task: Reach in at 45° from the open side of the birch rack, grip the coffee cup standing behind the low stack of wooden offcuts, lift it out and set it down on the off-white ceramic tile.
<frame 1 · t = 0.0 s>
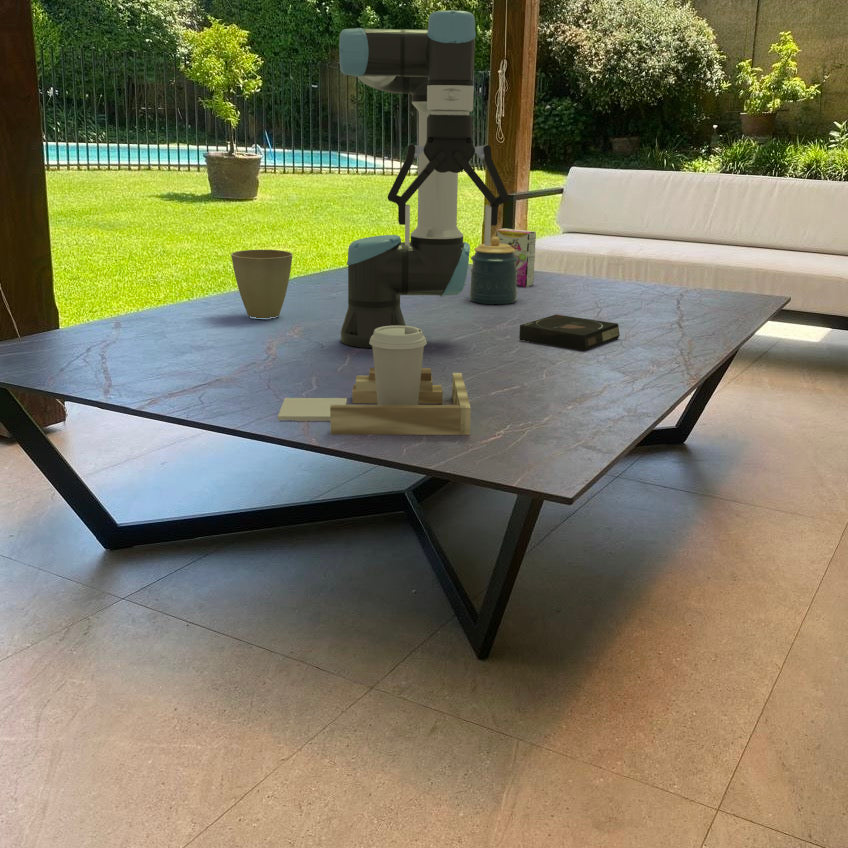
hand: (447, 245, 165), 28 cm above the table, tool pointing down, fingers open, 13 cm apart
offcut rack: (397, 415, 166), on the table
plant pot: (264, 318, 244), on the table
offcut stack: (397, 399, 175), on the table
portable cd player: (569, 342, 225), on the table
candy bar box: (513, 285, 296), on the table
ceramic tile: (313, 411, 168), on the table
canister: (493, 301, 270), on the table
coffee cup: (397, 418, 166), on the table
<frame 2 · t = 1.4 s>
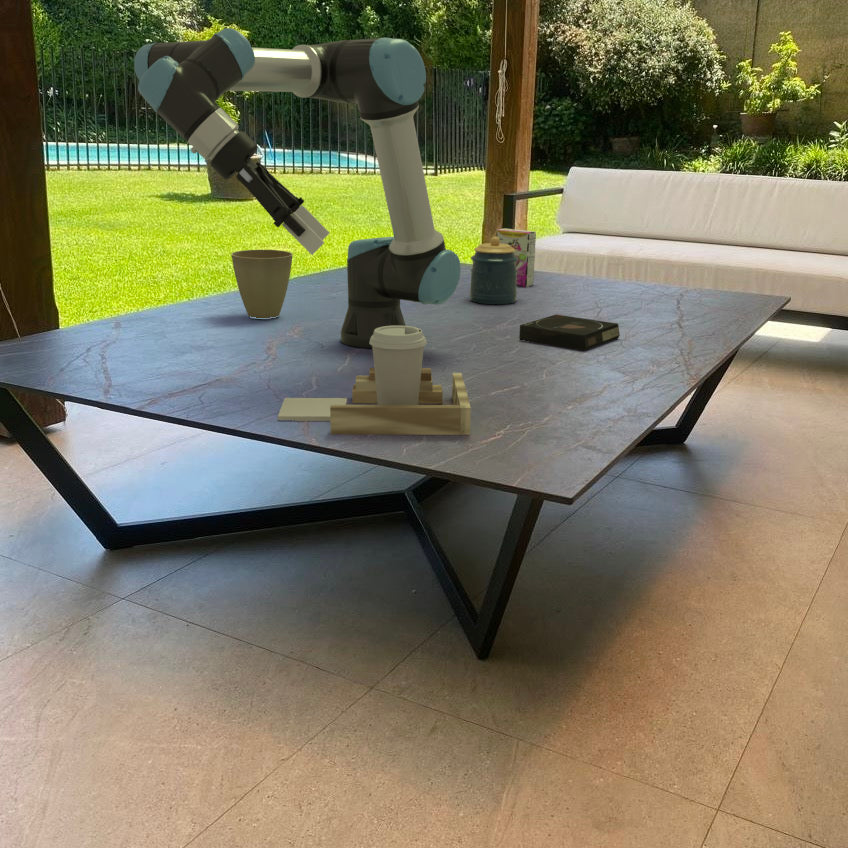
hand: (321, 243, 158), 29 cm above the table, tool tilted 45°, fingers open, 13 cm apart
nothing on the table moved.
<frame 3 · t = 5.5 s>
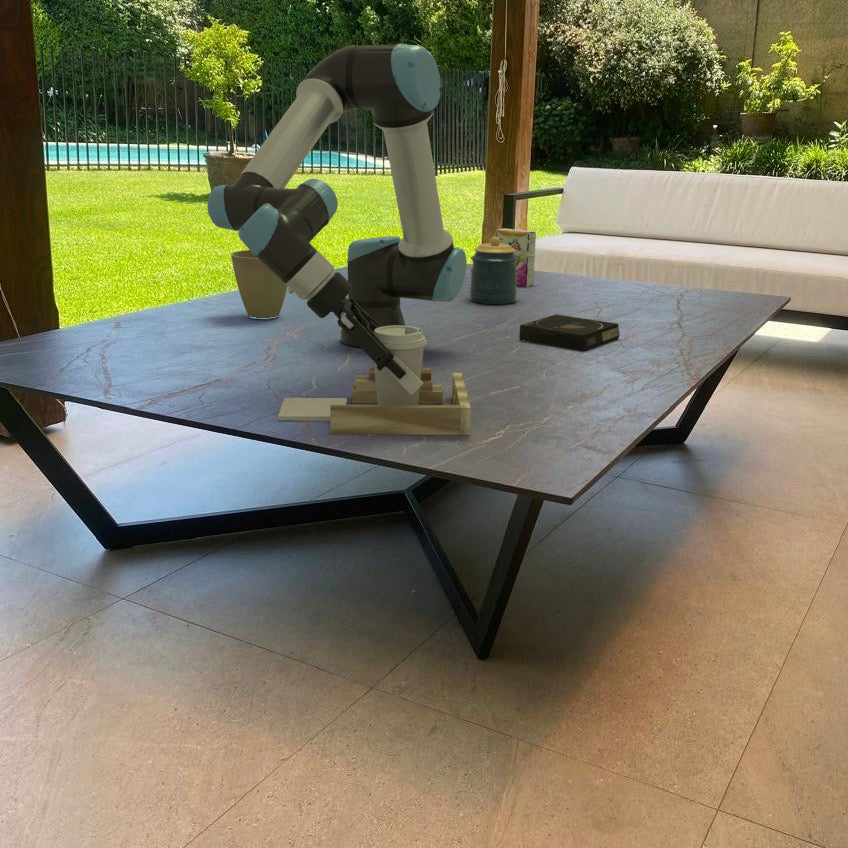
hand: (416, 380, 164), 6 cm above the table, tool tilted 45°, fingers closed on coffee cup, 9 cm apart
coffee cup: (397, 417, 166), on the table, touching gripper
everything else where it was.
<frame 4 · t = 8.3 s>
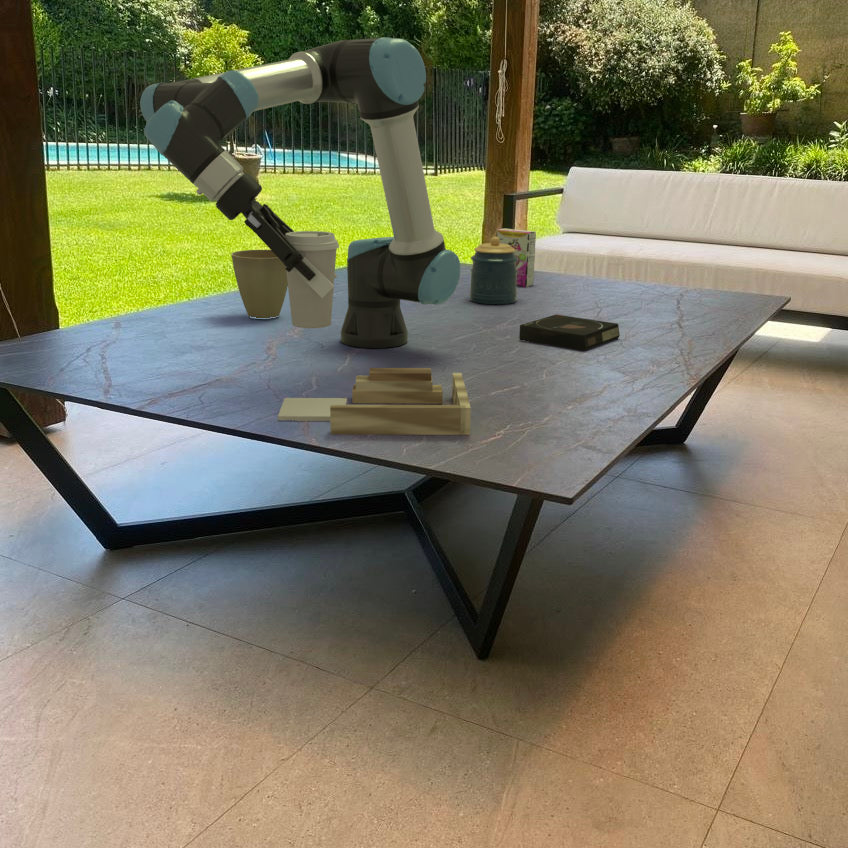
hand: (329, 286, 161), 22 cm above the table, tool tilted 45°, fingers closed on coffee cup, 9 cm apart
coffee cup: (311, 325, 163), point 15 cm above the table, touching gripper
everything else where it was.
when the fingers open (8 cm above the table, at t = 11.2 s): coffee cup drops 1 cm, resting on ceramic tile.
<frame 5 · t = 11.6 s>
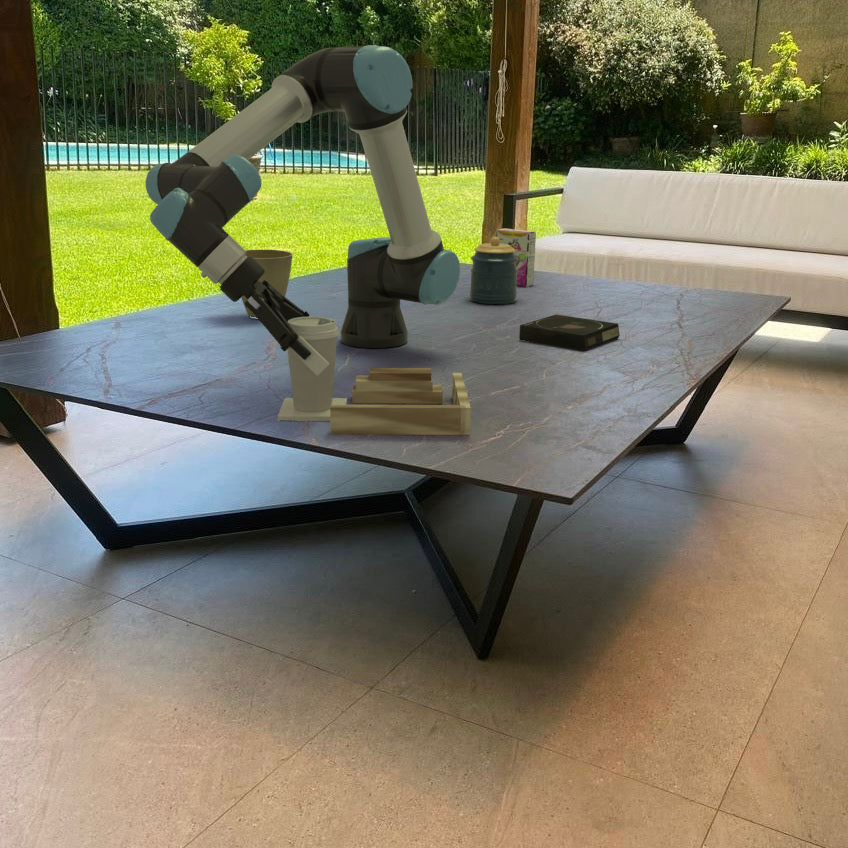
hand: (326, 359, 165), 9 cm above the table, tool tilted 45°, fingers open, 13 cm apart
coffee cup: (312, 408, 168), point 1 cm above the table, touching ceramic tile
everything else where it was.
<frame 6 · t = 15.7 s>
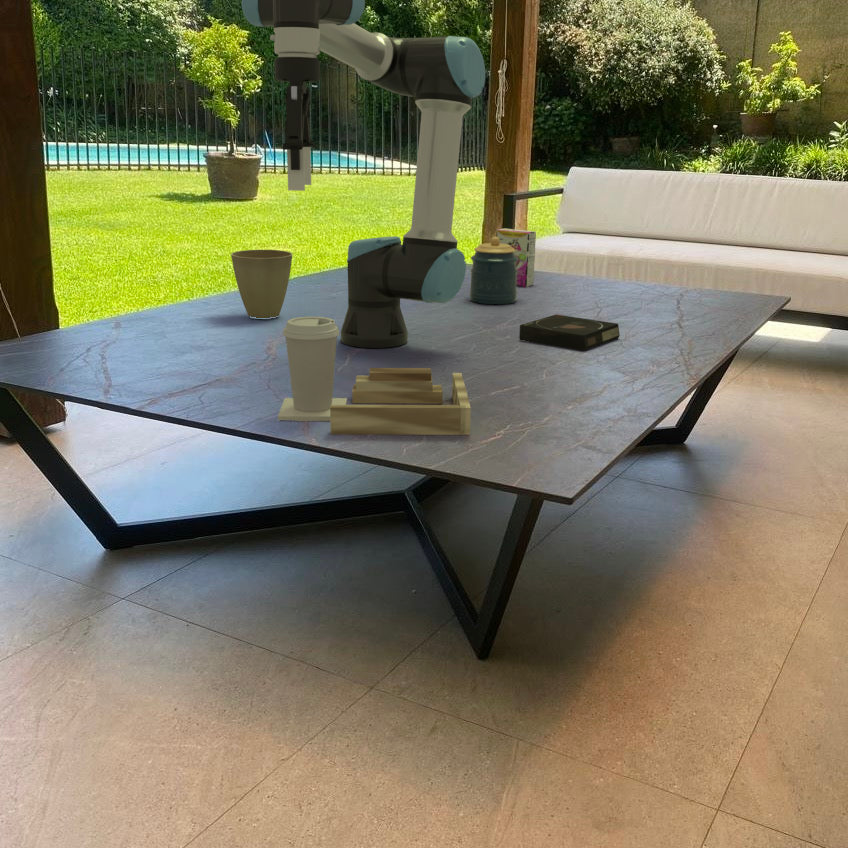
hand: (300, 187, 169), 37 cm above the table, tool pointing down, fingers open, 13 cm apart
nothing on the table moved.
at the end: coffee cup inside the target area on the ceramic tile (0.1 cm from its centre), point 0.6 cm above the ceramic tile's base; coffee cup tilted 0°; the gripper is holding nothing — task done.
